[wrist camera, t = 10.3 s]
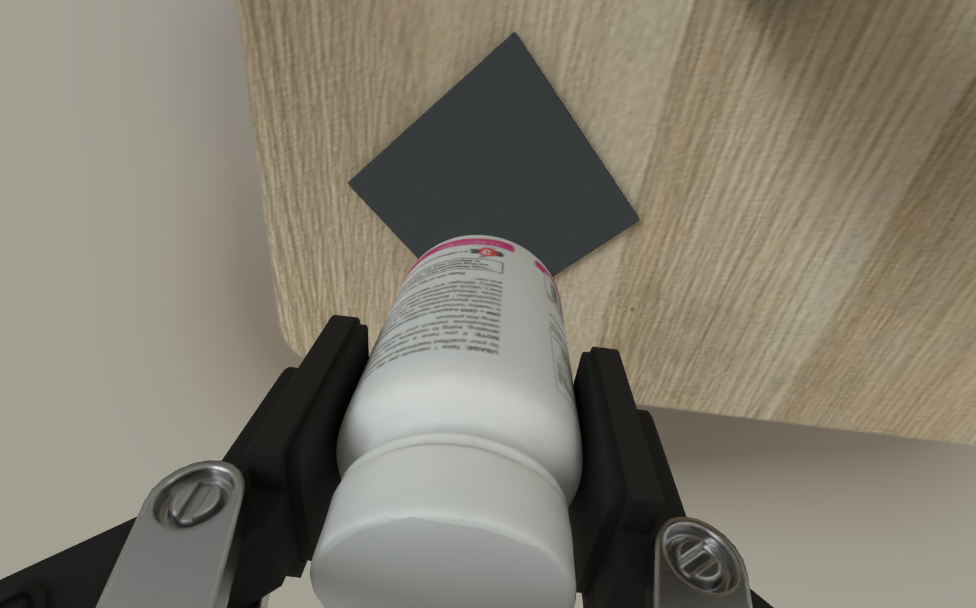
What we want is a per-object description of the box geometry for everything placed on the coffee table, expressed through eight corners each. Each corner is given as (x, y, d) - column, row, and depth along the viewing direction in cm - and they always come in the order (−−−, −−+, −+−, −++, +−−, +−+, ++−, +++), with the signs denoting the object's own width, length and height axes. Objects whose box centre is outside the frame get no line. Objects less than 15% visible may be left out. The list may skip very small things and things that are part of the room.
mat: (349, 181, 22) (347, 183, 22) (514, 31, 19) (514, 31, 19) (479, 320, 26) (479, 324, 26) (638, 217, 23) (640, 220, 22)
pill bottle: (378, 326, 15) (242, 616, 7) (445, 199, 12) (344, 439, 5) (508, 387, 16) (499, 696, 8) (592, 280, 13) (677, 576, 6)
